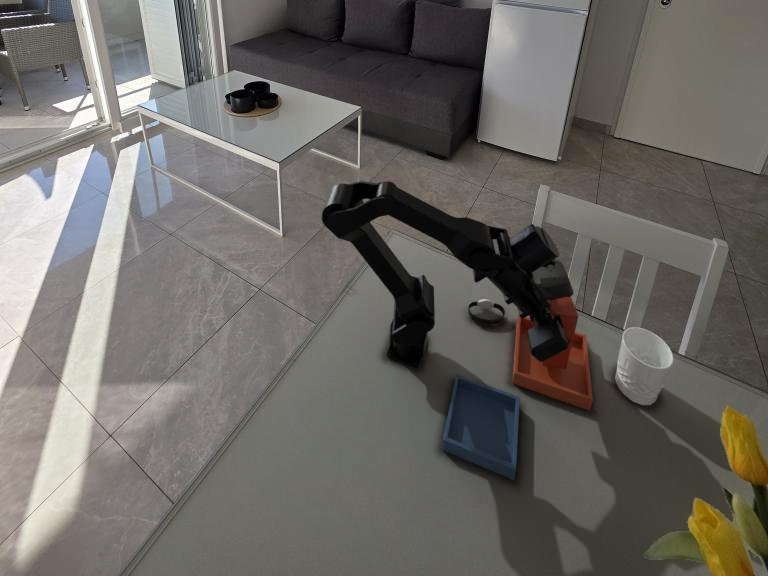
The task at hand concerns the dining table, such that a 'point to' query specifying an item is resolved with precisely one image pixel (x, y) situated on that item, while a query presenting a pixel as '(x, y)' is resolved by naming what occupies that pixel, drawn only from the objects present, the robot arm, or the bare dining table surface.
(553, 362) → the red pillar
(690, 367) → the dining table surface
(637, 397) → the white cup
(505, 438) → the blue tray
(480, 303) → the watch
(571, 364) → the red tray
